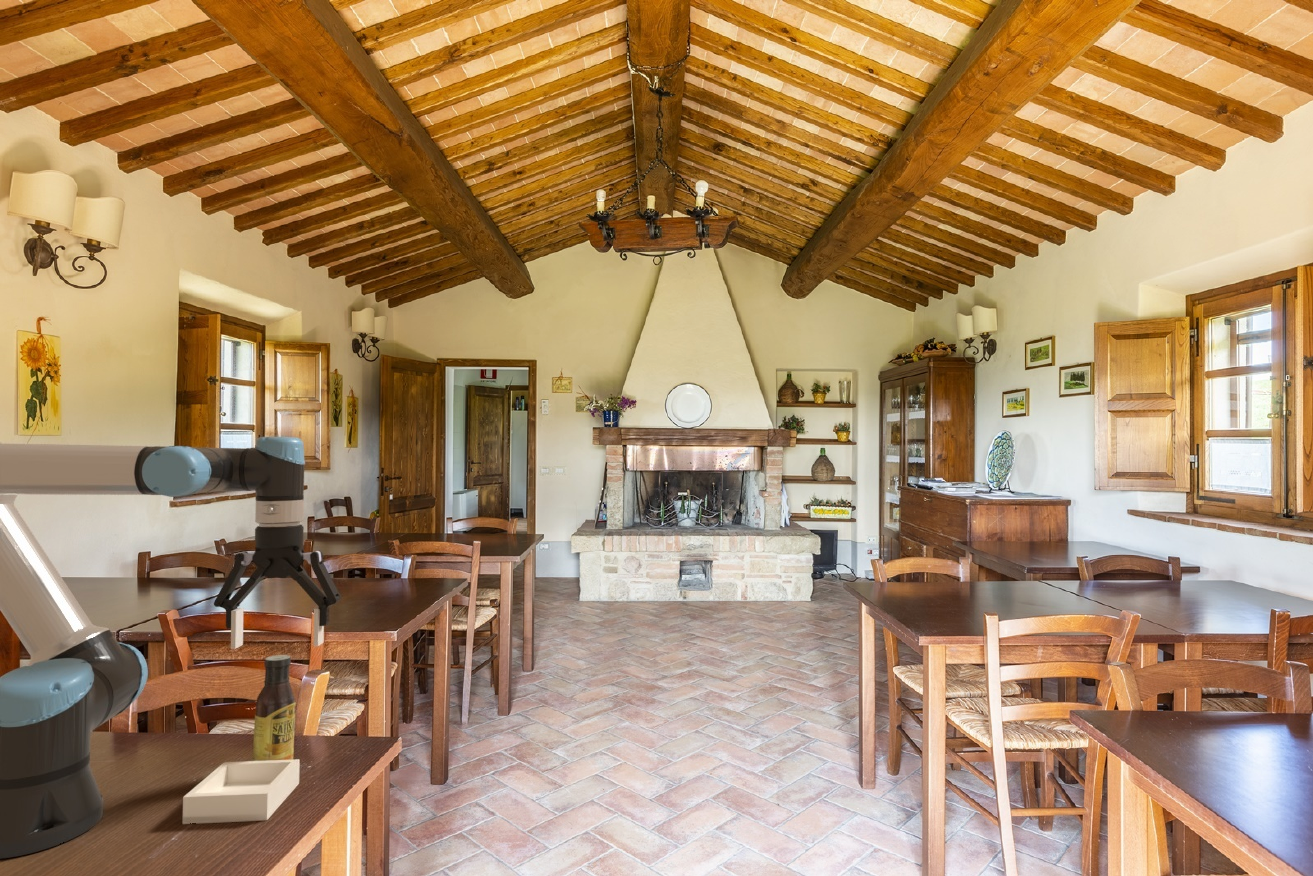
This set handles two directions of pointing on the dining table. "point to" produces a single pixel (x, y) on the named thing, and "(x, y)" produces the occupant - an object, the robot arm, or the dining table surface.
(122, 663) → the robot arm
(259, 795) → the square white tray
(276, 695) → the sauce bottle
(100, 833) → the dining table surface
